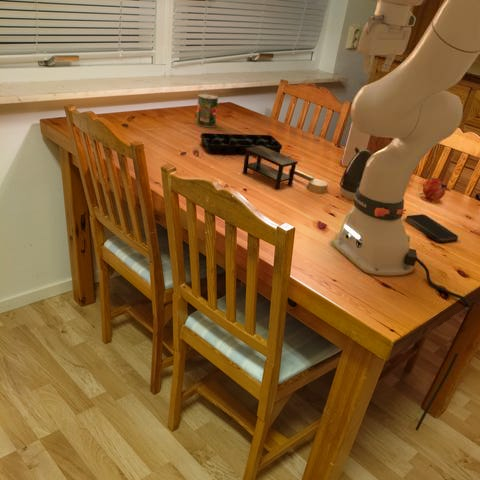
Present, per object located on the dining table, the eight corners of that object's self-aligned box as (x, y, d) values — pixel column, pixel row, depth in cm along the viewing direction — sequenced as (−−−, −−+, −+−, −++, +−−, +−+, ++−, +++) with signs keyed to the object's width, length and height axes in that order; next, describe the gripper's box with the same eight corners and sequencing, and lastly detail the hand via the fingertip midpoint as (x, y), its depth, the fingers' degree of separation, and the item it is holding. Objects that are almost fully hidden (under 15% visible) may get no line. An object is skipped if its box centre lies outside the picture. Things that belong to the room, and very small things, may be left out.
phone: (439, 239, 134) (405, 215, 144) (438, 243, 135) (403, 219, 145) (460, 237, 137) (424, 214, 147) (458, 240, 138) (423, 217, 148)
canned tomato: (194, 121, 199) (196, 92, 193) (212, 122, 202) (215, 93, 195) (198, 127, 194) (200, 97, 187) (217, 127, 196) (220, 99, 189)
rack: (292, 185, 156) (297, 161, 151) (277, 190, 151) (282, 165, 146) (257, 168, 164) (260, 145, 159) (241, 172, 159) (244, 148, 154)
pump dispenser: (357, 191, 159) (370, 144, 150) (374, 204, 152) (389, 156, 143) (330, 191, 156) (342, 144, 147) (347, 205, 148) (361, 156, 139)
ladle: (329, 191, 156) (332, 182, 154) (318, 194, 152) (320, 185, 150) (294, 175, 164) (296, 166, 162) (283, 178, 160) (284, 169, 158)
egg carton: (286, 155, 179) (288, 145, 177) (215, 160, 165) (216, 149, 163) (261, 140, 191) (263, 130, 188) (193, 143, 176) (194, 132, 174)
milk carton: (360, 169, 177) (375, 115, 166) (341, 166, 178) (355, 112, 166) (360, 163, 183) (375, 111, 171) (342, 160, 183) (355, 107, 172)
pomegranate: (413, 203, 163) (437, 196, 154) (412, 182, 163) (436, 173, 154) (429, 204, 166) (453, 197, 157) (428, 183, 166) (452, 175, 157)
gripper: (381, 16, 123) (365, 76, 131) (418, 19, 135) (402, 73, 144) (360, 12, 126) (346, 70, 134) (399, 15, 139) (384, 68, 147)
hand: (375, 72), depth 139 cm, fingers open, 8 cm apart
